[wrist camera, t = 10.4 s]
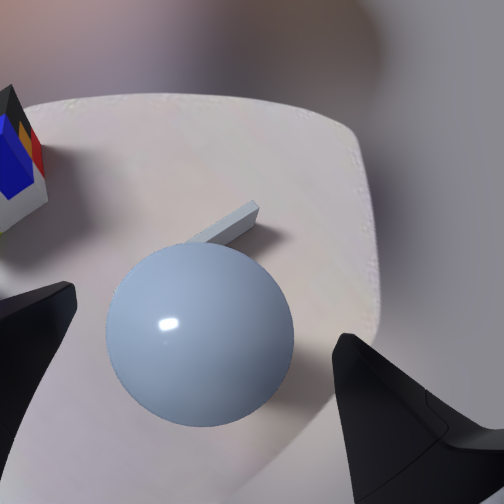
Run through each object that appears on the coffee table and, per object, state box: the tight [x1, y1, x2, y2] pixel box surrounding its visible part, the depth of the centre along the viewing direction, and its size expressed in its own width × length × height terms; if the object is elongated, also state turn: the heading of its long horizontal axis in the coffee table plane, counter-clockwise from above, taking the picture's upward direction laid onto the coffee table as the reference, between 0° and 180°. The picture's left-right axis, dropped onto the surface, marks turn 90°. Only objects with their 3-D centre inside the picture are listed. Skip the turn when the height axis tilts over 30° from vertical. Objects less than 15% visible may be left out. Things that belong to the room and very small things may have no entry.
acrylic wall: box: [113, 200, 260, 294], centre depth 20 cm, size 12×1×3 cm, turn 129°
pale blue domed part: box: [106, 242, 294, 427], centre depth 13 cm, size 5×5×12 cm
